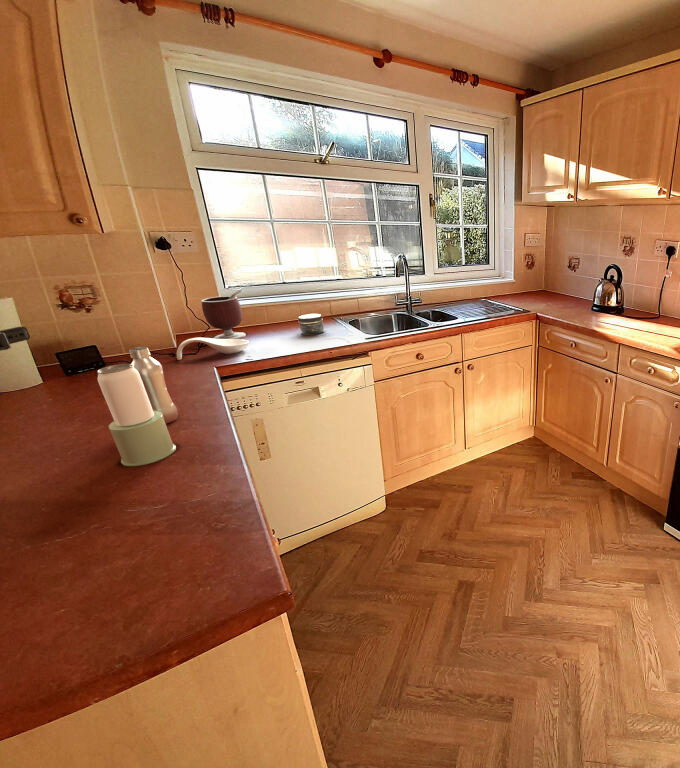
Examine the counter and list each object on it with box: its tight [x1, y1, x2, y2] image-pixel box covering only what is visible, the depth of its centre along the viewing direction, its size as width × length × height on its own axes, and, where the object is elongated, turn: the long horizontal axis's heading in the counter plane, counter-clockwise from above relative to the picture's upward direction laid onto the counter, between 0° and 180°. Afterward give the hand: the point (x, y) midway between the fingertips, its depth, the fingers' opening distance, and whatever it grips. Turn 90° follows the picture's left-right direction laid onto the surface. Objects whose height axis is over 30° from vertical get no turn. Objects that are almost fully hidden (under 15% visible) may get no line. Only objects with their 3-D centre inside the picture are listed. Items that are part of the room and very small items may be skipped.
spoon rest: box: [176, 337, 250, 361], centre depth 163 cm, size 24×12×7 cm, turn 123°
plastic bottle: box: [128, 346, 179, 425], centre depth 106 cm, size 6×7×20 cm
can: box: [96, 363, 154, 427], centre depth 88 cm, size 6×6×12 cm
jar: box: [297, 313, 325, 336], centre depth 192 cm, size 10×10×8 cm
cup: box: [108, 411, 177, 467], centre depth 93 cm, size 10×10×9 cm
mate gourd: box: [201, 290, 247, 339], centre depth 184 cm, size 16×14×20 cm
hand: (3, 332), depth 70 cm, fingers open, 8 cm apart
